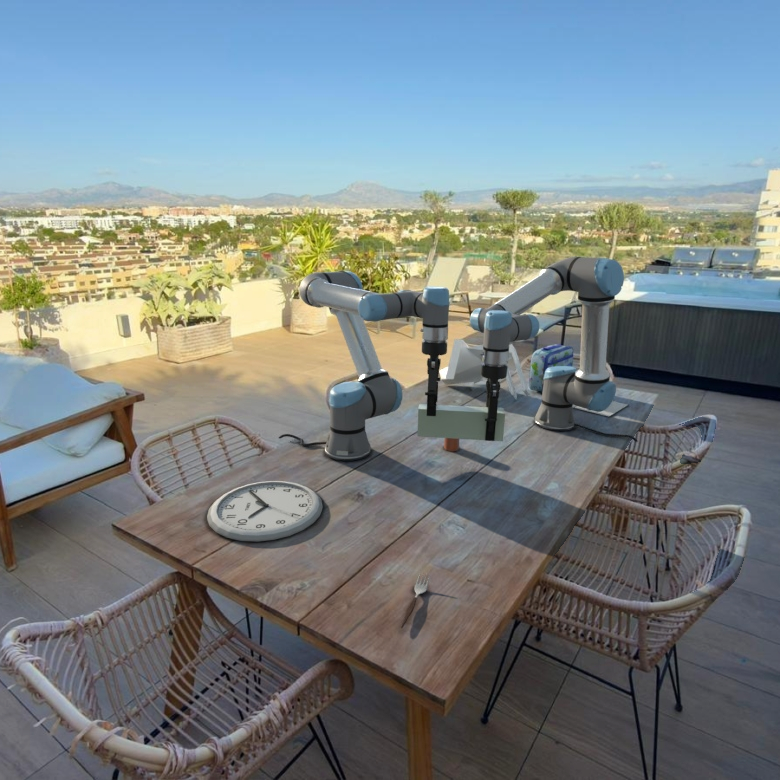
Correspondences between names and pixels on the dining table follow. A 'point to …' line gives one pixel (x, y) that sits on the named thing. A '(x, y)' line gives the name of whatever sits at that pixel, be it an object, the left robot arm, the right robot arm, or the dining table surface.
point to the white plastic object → (476, 366)
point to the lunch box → (548, 363)
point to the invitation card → (607, 409)
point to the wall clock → (264, 511)
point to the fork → (419, 589)
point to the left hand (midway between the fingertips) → (432, 408)
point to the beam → (458, 422)
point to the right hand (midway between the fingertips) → (489, 436)
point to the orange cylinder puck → (451, 444)
